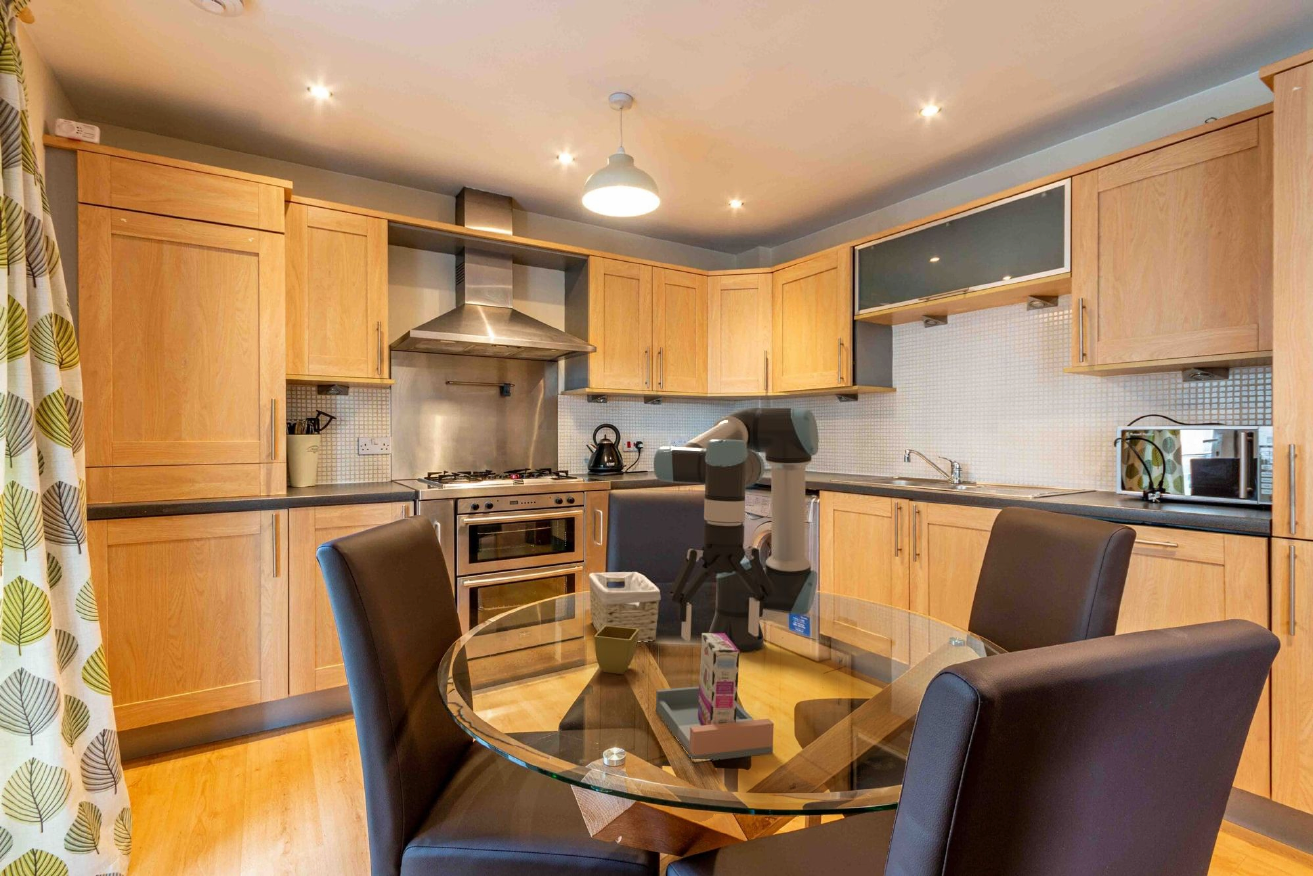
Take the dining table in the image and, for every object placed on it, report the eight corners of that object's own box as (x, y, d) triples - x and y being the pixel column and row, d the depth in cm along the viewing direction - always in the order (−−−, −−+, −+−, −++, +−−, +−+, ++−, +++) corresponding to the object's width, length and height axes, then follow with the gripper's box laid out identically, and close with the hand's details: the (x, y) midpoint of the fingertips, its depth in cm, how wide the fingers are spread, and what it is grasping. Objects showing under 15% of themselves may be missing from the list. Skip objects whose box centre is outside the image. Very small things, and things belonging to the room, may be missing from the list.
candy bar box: (737, 743, 111) (740, 650, 111) (709, 744, 110) (713, 650, 110) (722, 716, 122) (725, 631, 122) (696, 716, 121) (700, 631, 121)
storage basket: (660, 644, 168) (662, 589, 168) (601, 647, 164) (603, 591, 164) (637, 619, 191) (639, 571, 191) (585, 621, 187) (587, 572, 187)
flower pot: (628, 679, 142) (630, 639, 142) (592, 674, 144) (593, 635, 144) (637, 666, 151) (639, 628, 151) (602, 662, 153) (604, 625, 153)
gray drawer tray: (724, 704, 130) (725, 679, 130) (772, 753, 110) (773, 723, 110) (655, 710, 126) (656, 684, 126) (693, 762, 106) (694, 732, 106)
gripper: (774, 518, 123) (770, 626, 124) (653, 520, 116) (650, 634, 116) (793, 524, 116) (789, 638, 116) (666, 526, 109) (662, 648, 109)
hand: (720, 636), depth 116 cm, fingers open, 13 cm apart
